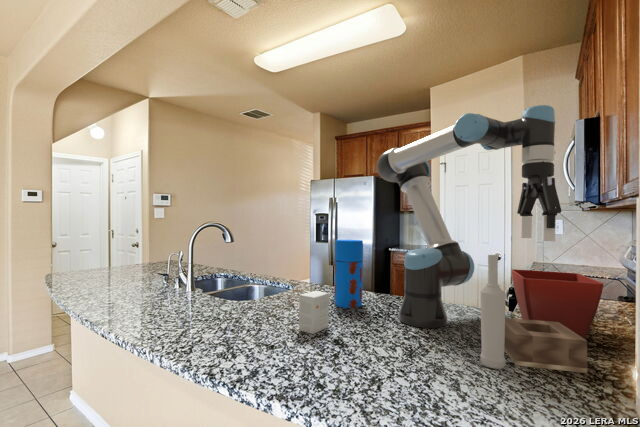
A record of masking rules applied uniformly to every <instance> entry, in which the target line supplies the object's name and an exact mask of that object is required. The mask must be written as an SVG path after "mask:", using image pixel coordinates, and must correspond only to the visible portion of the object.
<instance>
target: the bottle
mask: <svg viewBox="0 0 640 427" xmlns="http://www.w3.org/2000/svg"><path fill="white" fill-rule="evenodd" d="M487 265H488V266H487V270H488V272H487V284H486V286H485V287H483V288H482V289H481V290H480V332H481V333H480V334H481V336H480V337H481V338H480V339H481V352H480V355H479V356H480V363H481V365H483V366H485V367H487V368H491V369H494V370H501V369H504V368H505V366H506V357H505V351H504V342H505V318H506V302H507V301H506V297H507V295H506V292H505V291H504V290H503V289H502V288H501V287H500V285H499V282H498V281H499V280H498V275H499V273H498V272H499V271H498V269H499V255H497V254H487Z"/></svg>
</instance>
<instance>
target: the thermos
mask: <svg viewBox="0 0 640 427" xmlns="http://www.w3.org/2000/svg"><path fill="white" fill-rule="evenodd" d="M363 265H364V241H363V240H361V239H335V244H334V305H335V306H336V307H339V308H344V309H357V308H360V307H362V305H363V289H364V288H363V286H364V284H363V283H364V282H363V281H364V280H363V279H364V278H363V275H364V273H363V272H364V266H363Z"/></svg>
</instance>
